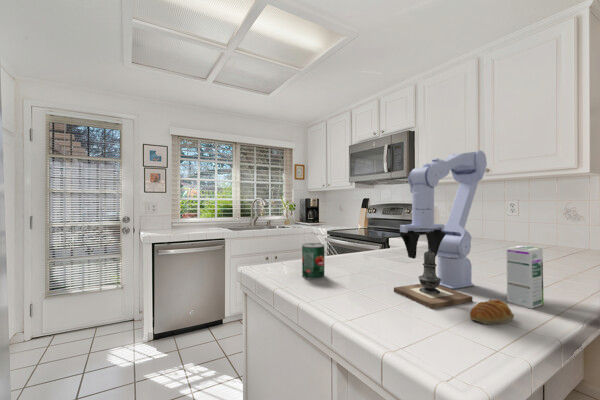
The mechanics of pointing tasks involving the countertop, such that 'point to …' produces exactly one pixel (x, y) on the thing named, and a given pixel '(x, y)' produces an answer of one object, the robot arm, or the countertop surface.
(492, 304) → the pastry
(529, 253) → the syrup box
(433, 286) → the salt shaker
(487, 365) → the countertop surface
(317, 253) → the canned tomato
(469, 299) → the walnut board
